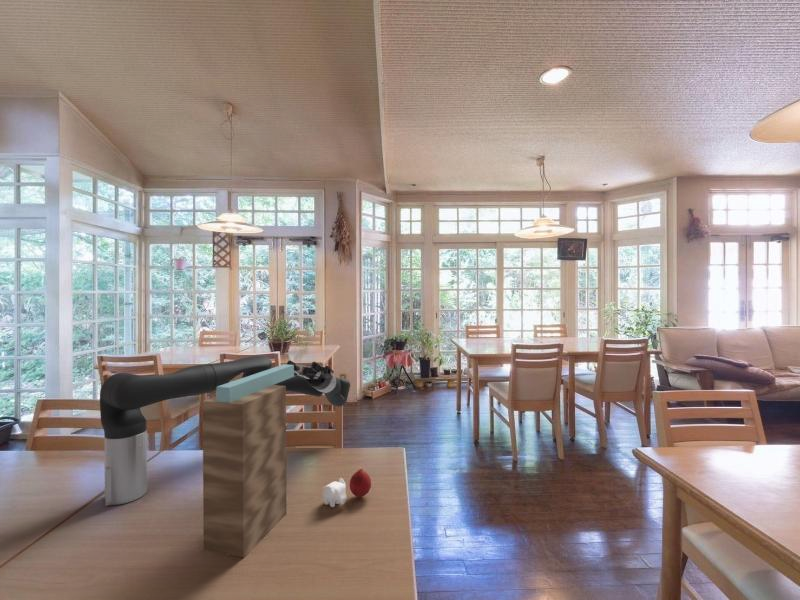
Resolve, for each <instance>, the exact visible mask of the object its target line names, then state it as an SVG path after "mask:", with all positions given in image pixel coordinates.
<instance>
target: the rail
mask: <svg viewBox="0 0 800 600" xmlns="http://www.w3.org/2000/svg"><path fill="white" fill-rule="evenodd" d="M291 377H294V365H287V364H284V363H283V364H281V365H277V366H275V367H271V369H268V370H265V371H262V372H259V373H256V374H253V375H250V376H247V377H244V378H242V377H241V378H238V379H235V380H231V381H230V382H228V383H226V384H223V385H220V386H217V390H216V396H217V402H225V403H231V402H233V401H235V400H238V399H240V398H243V397H245V396H248V395H250V394H252V393H255V392H257V391H260V390H262V389H265V388H267V387H269V386H272V385H274V384H277V383H279V382H282V381H284V380H286V379H289V378H291Z"/></svg>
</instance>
